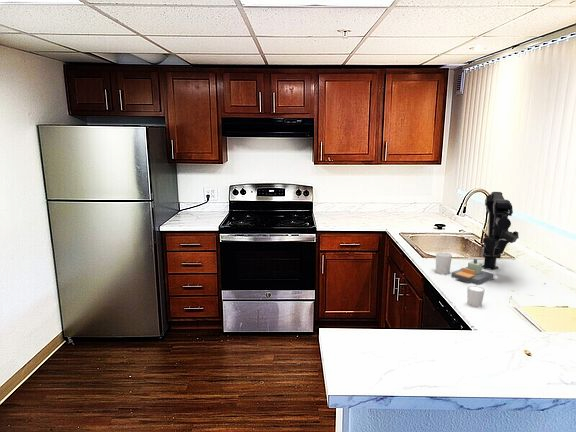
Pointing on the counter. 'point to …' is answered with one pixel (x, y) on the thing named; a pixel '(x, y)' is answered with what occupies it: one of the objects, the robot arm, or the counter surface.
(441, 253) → the white cup
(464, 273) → the shutter
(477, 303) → the shot glass
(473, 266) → the plug
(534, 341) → the counter surface
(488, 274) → the socket
